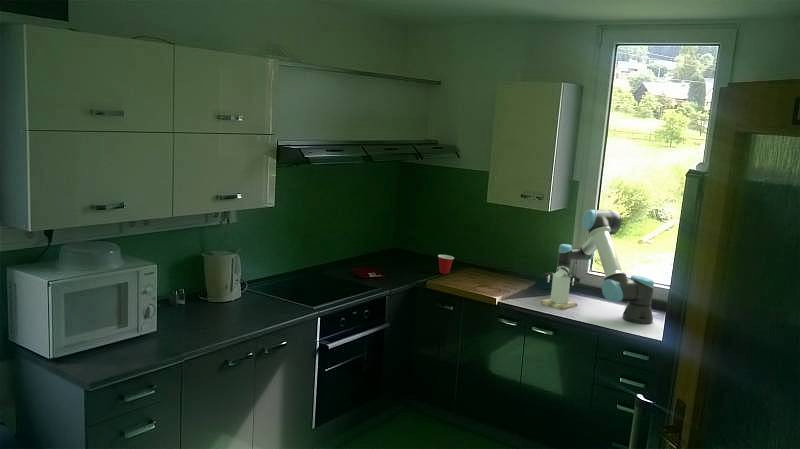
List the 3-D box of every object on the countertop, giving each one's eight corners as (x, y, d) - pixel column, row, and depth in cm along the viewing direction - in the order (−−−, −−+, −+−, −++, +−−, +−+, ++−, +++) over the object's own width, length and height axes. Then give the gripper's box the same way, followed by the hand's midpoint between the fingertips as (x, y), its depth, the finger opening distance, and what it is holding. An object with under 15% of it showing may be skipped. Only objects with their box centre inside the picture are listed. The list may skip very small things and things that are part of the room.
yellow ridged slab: (577, 306, 356) (577, 303, 356) (563, 310, 347) (563, 307, 347) (554, 299, 367) (554, 297, 367) (540, 303, 358) (540, 300, 358)
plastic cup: (455, 275, 409) (456, 257, 407) (439, 276, 406) (440, 257, 404) (450, 271, 419) (451, 254, 417) (434, 271, 416) (435, 254, 414)
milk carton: (556, 304, 353) (559, 271, 349) (550, 300, 359) (553, 268, 356) (567, 303, 354) (571, 271, 351) (561, 300, 361) (564, 267, 358)
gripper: (583, 282, 373) (582, 291, 353) (540, 276, 380) (537, 285, 360) (584, 269, 372) (584, 278, 352) (541, 264, 379) (538, 272, 359)
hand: (560, 281), depth 356 cm, fingers open, 13 cm apart
